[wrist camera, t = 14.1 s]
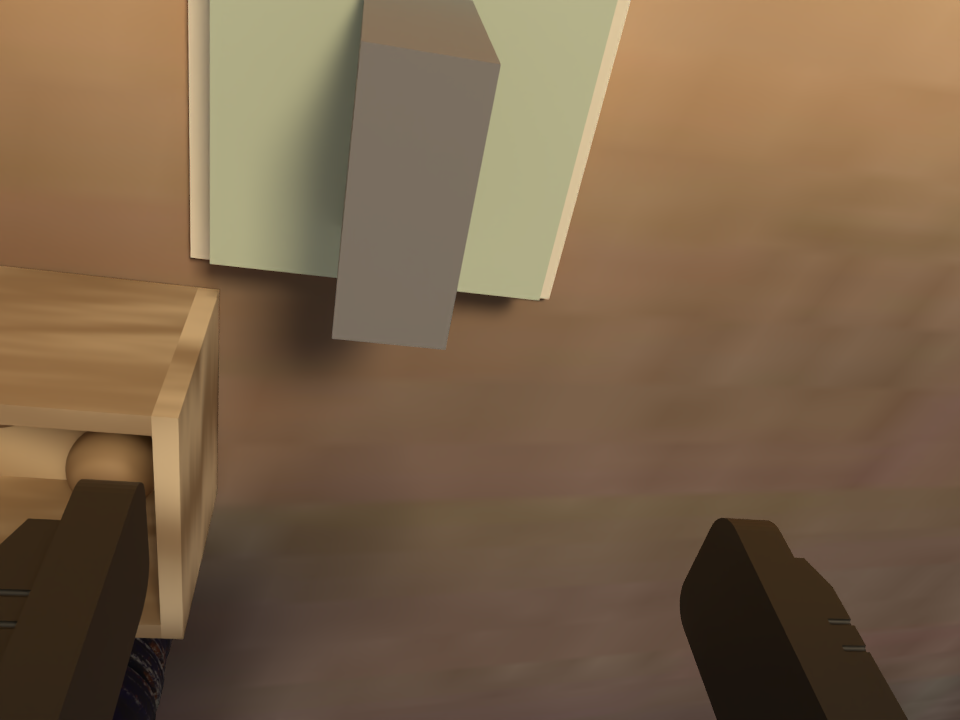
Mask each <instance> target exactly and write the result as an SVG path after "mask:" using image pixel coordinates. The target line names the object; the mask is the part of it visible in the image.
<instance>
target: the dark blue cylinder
mask: <svg viewBox="0 0 960 720" xmlns="http://www.w3.org/2000/svg"><path fill="white" fill-rule="evenodd" d="M171 642H172V639H164V638H135V640H134V644H133V647H132V651H131V654H130V658H129V662H128V665H127V669H126V672H125V676H124V680H123V683H122V687H121V690H120V694H119V697H118V701H117V705H116V708H115V712H114V715H113V719H112V720H155V717H156V714H155V712H156V710H157V708H158V705H159V702H160V698H161V694H162V689H163V685H164V671H165V664H166V658H167V656H168V653H169V650H170V646H171Z"/></svg>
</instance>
